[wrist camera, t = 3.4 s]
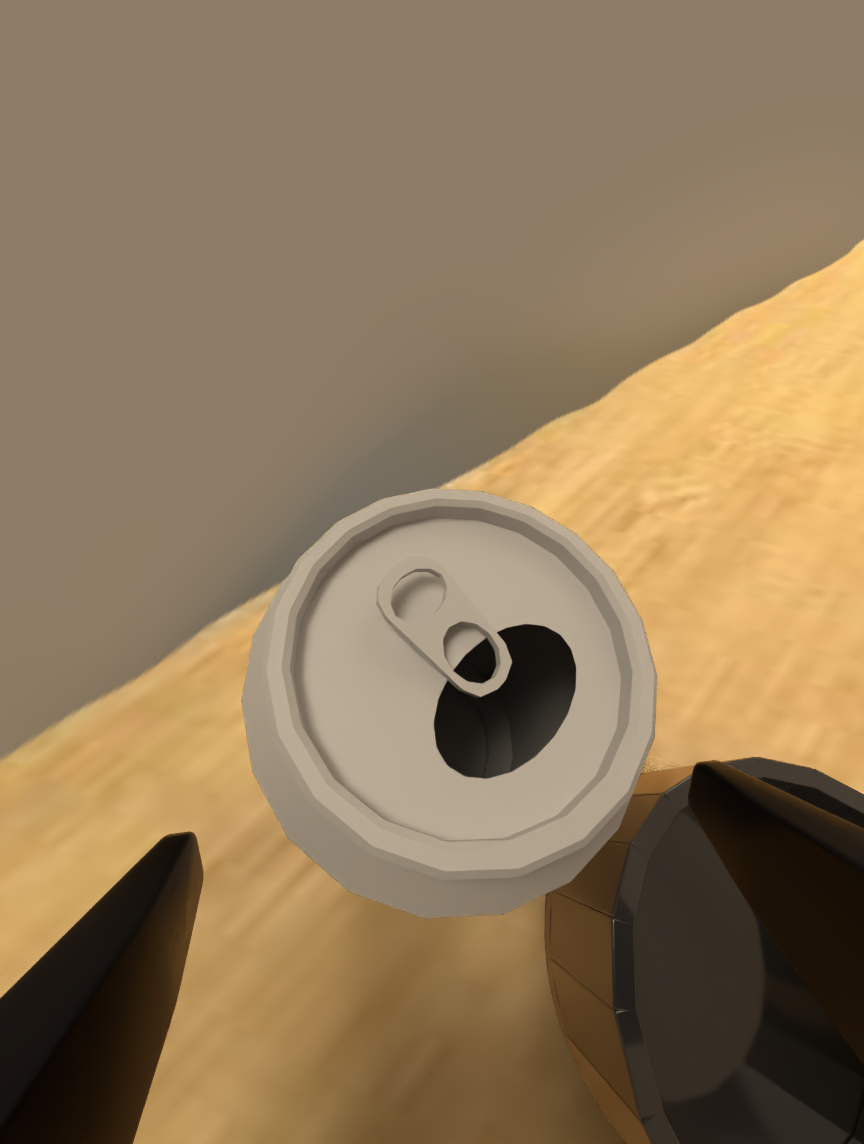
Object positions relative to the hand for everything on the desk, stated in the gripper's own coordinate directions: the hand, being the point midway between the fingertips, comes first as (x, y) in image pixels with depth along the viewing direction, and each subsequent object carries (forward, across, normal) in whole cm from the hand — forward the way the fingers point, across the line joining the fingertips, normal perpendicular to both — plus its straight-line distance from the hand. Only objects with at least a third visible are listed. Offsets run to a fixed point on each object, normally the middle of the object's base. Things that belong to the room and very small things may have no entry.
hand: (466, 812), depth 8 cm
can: (+8, 0, +5) cm, 10 cm away
